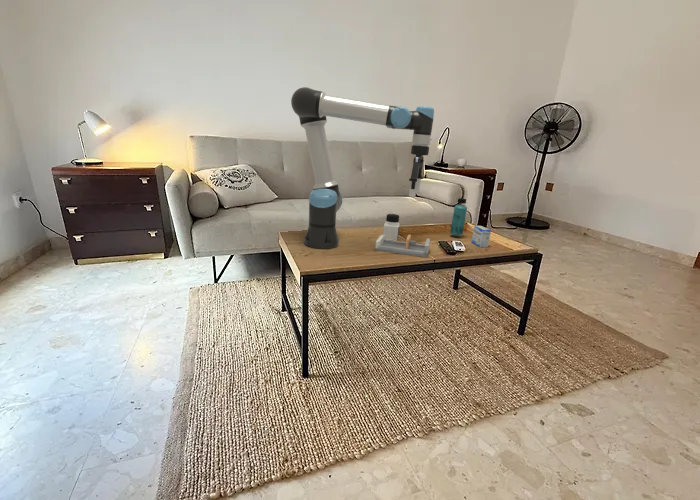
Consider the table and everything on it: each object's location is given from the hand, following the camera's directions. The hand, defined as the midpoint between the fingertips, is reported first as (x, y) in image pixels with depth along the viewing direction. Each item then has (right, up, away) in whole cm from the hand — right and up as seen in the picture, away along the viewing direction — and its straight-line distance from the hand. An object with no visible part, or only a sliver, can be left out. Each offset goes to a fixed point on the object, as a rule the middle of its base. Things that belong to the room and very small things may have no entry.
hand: (414, 194), depth 155 cm
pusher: (-2, -24, -4) cm, 25 cm away
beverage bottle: (+26, -18, +24) cm, 40 cm away
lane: (-6, -25, -3) cm, 26 cm away
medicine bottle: (-9, -19, +14) cm, 25 cm away
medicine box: (+34, -23, +13) cm, 43 cm away
